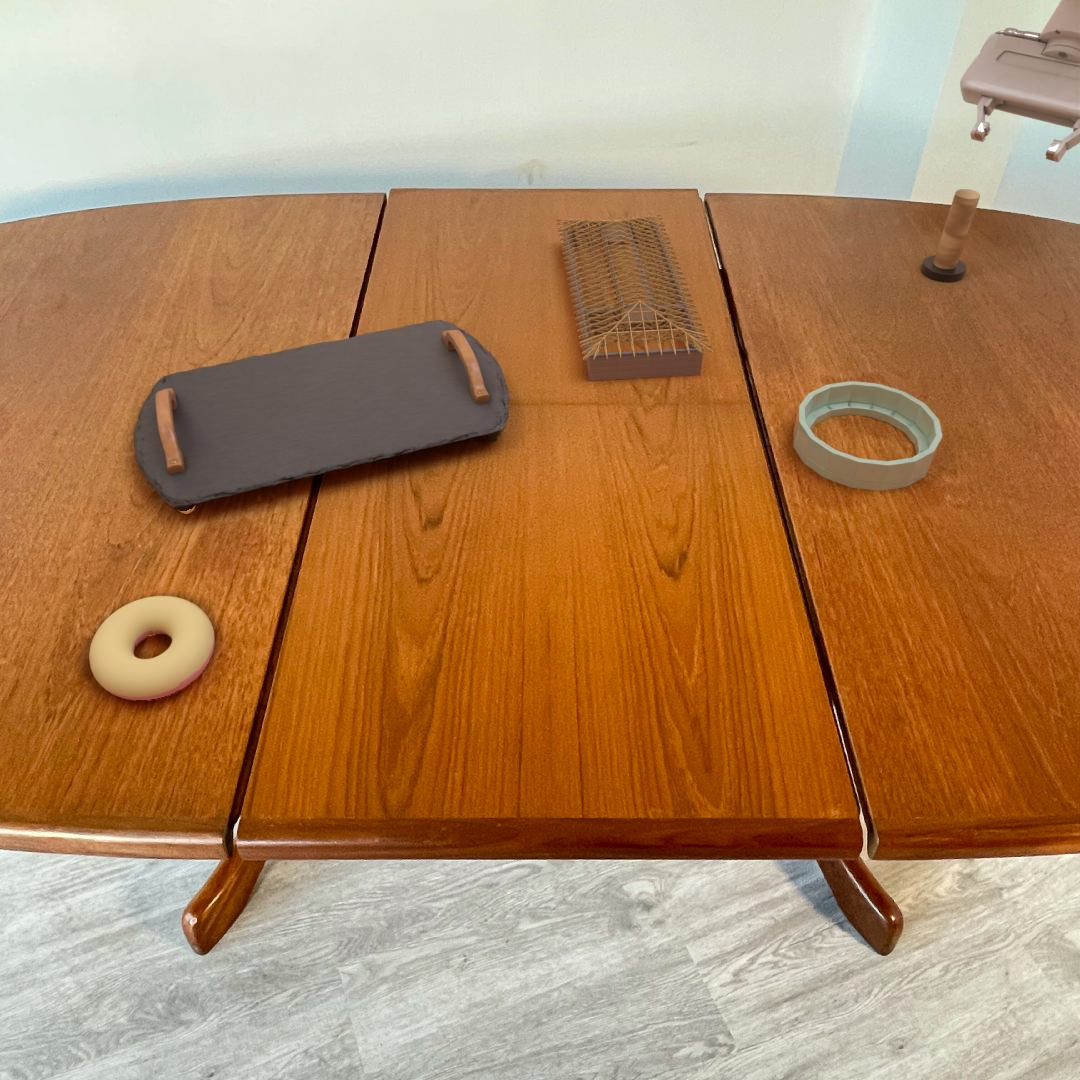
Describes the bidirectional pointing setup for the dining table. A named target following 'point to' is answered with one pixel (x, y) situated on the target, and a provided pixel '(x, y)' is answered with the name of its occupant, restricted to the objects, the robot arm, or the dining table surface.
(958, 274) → the wooden peg with base
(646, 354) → the rafter model
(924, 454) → the pale green band ring
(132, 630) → the donut
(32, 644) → the dining table surface
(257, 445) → the serving tray
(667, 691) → the dining table surface
